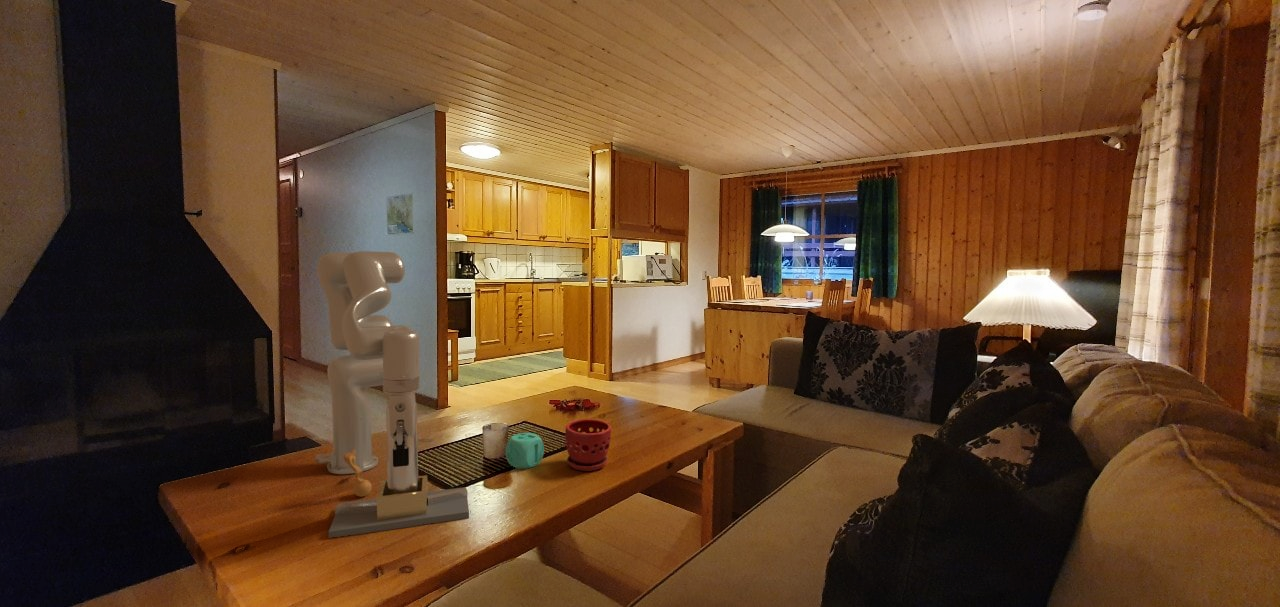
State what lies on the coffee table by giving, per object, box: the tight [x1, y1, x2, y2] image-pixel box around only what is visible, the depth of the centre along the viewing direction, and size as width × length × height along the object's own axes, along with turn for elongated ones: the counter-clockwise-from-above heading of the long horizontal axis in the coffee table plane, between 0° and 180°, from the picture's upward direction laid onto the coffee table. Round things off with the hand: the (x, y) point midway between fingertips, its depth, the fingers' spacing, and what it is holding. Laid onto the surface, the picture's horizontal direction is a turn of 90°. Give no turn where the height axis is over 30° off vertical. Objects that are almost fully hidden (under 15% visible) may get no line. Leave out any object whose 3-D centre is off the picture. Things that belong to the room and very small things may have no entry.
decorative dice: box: [504, 432, 545, 470], centre depth 153 cm, size 8×8×8 cm
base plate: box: [328, 486, 470, 539], centre depth 122 cm, size 28×14×2 cm, turn 111°
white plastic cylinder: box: [385, 401, 419, 495], centre depth 121 cm, size 6×6×25 cm
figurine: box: [343, 450, 373, 498], centre depth 130 cm, size 8×6×12 cm
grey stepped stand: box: [334, 475, 468, 521], centre depth 122 cm, size 28×10×5 cm, turn 111°
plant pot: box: [564, 418, 612, 472], centre depth 153 cm, size 13×13×12 cm
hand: (402, 457), depth 121 cm, fingers open, 9 cm apart
